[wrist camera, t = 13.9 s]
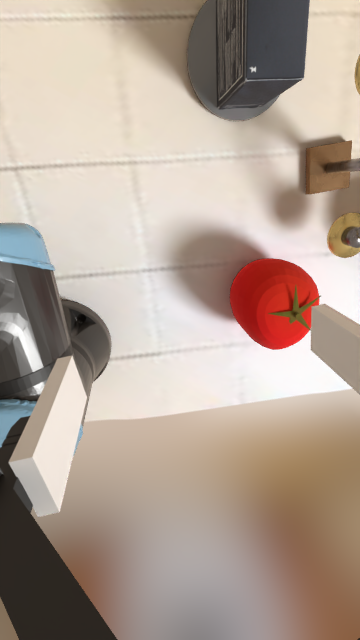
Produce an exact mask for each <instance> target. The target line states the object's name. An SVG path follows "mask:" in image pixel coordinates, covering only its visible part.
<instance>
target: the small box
mask: <svg viewBox="0 0 360 640" xmlns="http://www.w3.org/2000/svg"><path fill="white" fill-rule="evenodd" d="M309 3H310V0H216V74H217V108H218V109H219V110H221V109H222V110H223V109H227V108H228V109H231V108H257V107H262V106H264V105H265V104H266V103H268V102H269V101H271V100H272V99H274V98H275V97H277V96H278V95H280V94H281V93H283V92H284V91H286V90H287V89H289V88H290V87H292V86H293V85H295V84H296V83H297V82H299V81H301V80H302V79H304V70H305V57H306V43H307V29H308V16H309Z"/></svg>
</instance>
